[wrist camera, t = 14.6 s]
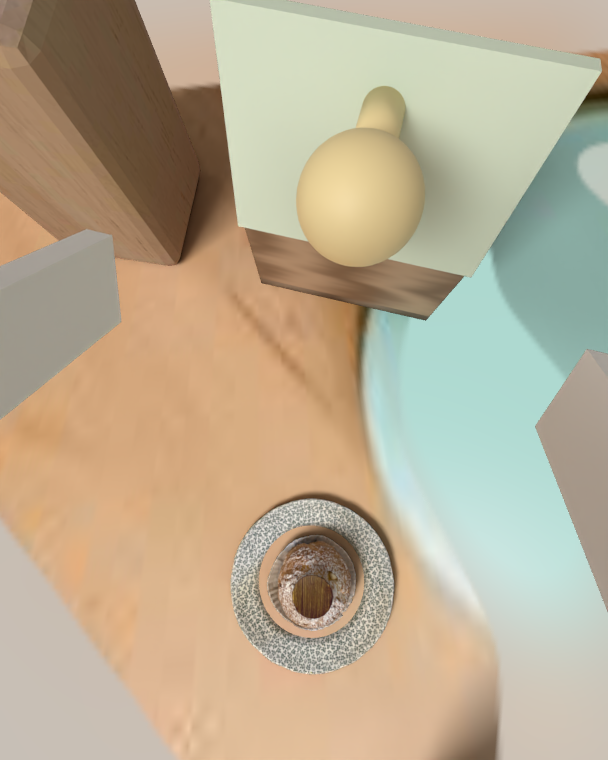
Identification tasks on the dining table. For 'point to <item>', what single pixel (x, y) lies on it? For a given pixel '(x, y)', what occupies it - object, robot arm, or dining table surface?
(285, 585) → the speckled grey ring
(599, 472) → the robot arm
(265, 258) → the box
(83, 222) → the block
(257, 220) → the lid
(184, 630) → the dining table surface
